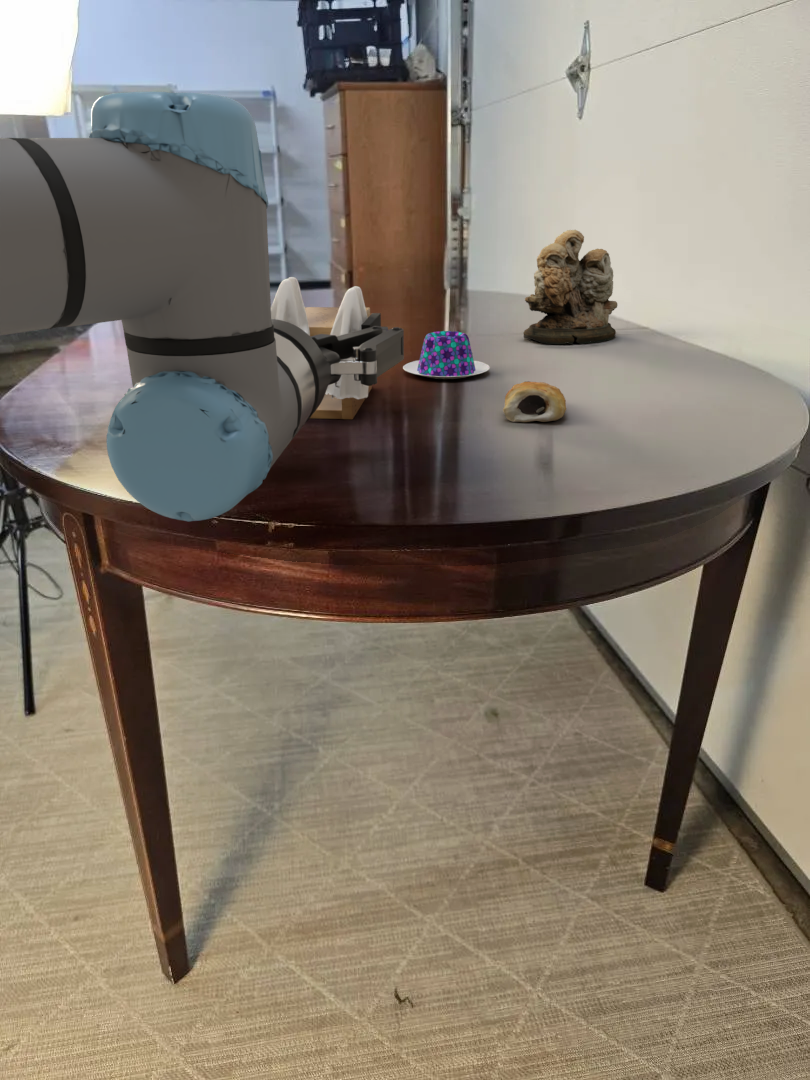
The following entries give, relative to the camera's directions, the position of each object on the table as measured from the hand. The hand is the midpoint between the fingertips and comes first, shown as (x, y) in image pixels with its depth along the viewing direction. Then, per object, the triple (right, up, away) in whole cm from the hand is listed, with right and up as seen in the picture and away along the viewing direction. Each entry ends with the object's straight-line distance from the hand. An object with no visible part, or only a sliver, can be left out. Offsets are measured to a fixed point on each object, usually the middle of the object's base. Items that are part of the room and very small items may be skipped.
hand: (328, 327), depth 71 cm
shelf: (-10, -3, +23) cm, 25 cm away
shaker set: (-1, -8, -2) cm, 8 cm away
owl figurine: (+35, +14, +59) cm, 70 cm away
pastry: (+22, -6, +16) cm, 27 cm away
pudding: (+13, +3, +36) cm, 38 cm away
